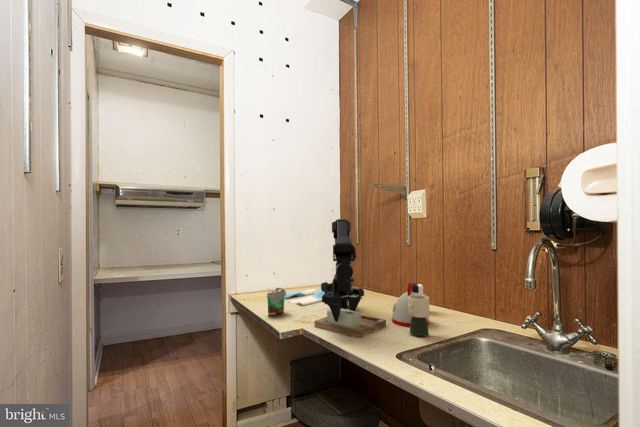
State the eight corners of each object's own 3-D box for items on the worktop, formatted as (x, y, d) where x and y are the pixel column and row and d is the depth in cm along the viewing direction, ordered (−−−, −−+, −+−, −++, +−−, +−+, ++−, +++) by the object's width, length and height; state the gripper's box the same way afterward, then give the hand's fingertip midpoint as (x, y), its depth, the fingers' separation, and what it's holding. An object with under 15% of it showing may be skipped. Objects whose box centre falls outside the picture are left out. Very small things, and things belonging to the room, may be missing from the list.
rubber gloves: (269, 298, 179) (269, 286, 179) (315, 289, 201) (315, 278, 202) (302, 307, 159) (302, 293, 159) (349, 296, 181) (349, 284, 181)
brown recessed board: (343, 316, 141) (343, 311, 141) (386, 325, 128) (386, 319, 128) (314, 326, 127) (314, 320, 127) (359, 338, 114) (359, 331, 114)
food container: (281, 318, 139) (281, 293, 140) (266, 317, 140) (266, 293, 141) (289, 310, 151) (289, 288, 152) (276, 310, 153) (276, 287, 153)
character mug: (420, 329, 123) (419, 293, 124) (437, 334, 118) (436, 296, 118) (400, 335, 117) (400, 297, 117) (417, 341, 111) (417, 300, 112)
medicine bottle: (406, 313, 146) (406, 284, 146) (408, 309, 152) (408, 282, 153) (424, 314, 143) (423, 285, 143) (425, 310, 150) (425, 283, 150)
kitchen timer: (389, 325, 128) (388, 285, 129) (395, 316, 141) (394, 279, 142) (427, 329, 123) (427, 287, 124) (430, 319, 136) (429, 281, 137)
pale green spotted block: (336, 320, 131) (336, 307, 131) (361, 326, 123) (360, 311, 124) (327, 324, 126) (326, 310, 126) (351, 330, 119) (351, 315, 119)
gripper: (341, 271, 137) (341, 310, 137) (310, 276, 123) (310, 320, 123) (364, 273, 130) (365, 314, 130) (334, 280, 116) (334, 326, 116)
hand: (343, 318), depth 125 cm, fingers open, 9 cm apart
